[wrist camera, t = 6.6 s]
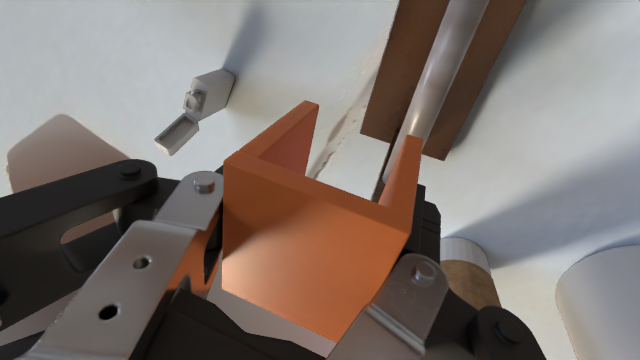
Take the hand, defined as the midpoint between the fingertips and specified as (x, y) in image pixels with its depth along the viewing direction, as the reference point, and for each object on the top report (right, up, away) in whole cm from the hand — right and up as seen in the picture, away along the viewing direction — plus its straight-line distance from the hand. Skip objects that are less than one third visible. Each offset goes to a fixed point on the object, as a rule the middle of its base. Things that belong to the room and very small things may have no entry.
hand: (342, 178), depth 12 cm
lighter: (-12, +9, +21) cm, 26 cm away
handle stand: (+8, +10, +12) cm, 18 cm away
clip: (0, 0, 0) cm, 0 cm away
